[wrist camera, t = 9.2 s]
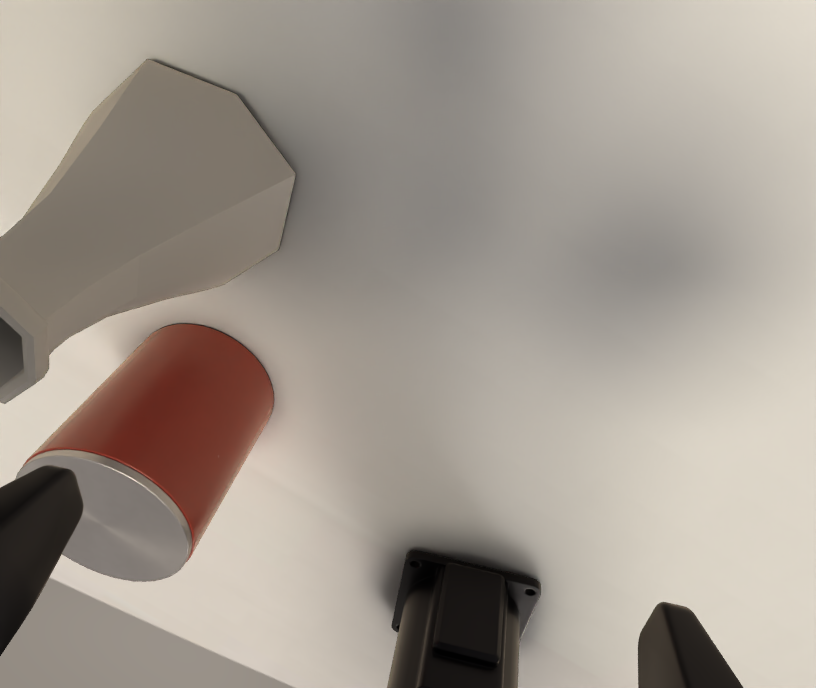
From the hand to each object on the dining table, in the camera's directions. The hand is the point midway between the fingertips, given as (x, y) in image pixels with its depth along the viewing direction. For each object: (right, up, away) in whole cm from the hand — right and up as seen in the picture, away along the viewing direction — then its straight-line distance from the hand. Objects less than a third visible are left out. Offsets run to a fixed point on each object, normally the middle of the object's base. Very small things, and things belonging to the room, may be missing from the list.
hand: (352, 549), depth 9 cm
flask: (-6, +9, +12) cm, 16 cm away
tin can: (-8, +1, +17) cm, 18 cm away
